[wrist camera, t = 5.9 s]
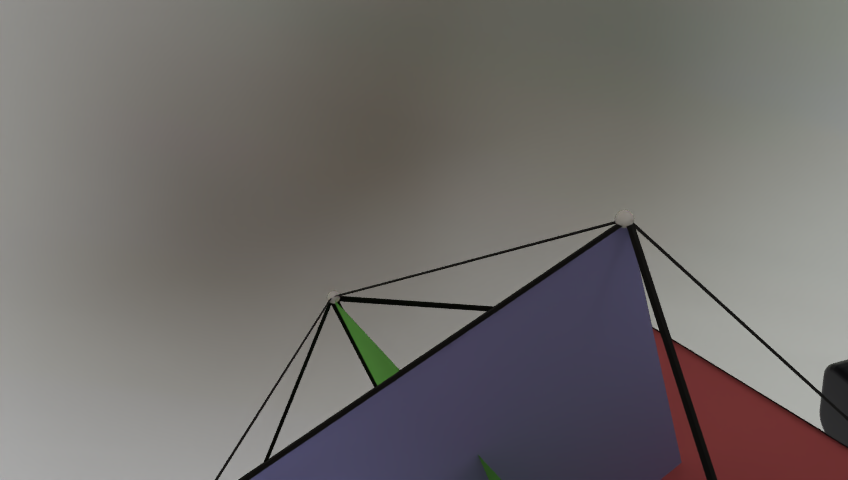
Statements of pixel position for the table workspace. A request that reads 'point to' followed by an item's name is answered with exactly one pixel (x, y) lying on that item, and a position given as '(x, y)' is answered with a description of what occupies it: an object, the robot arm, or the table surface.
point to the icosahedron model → (556, 393)
